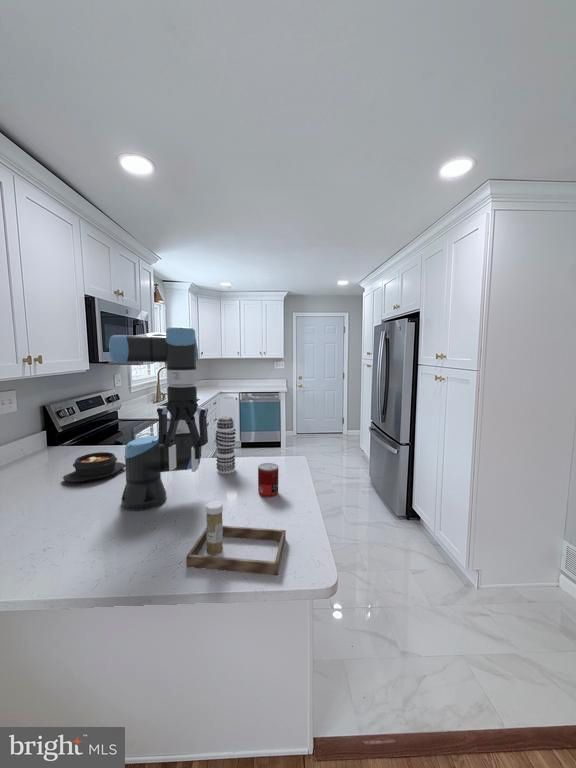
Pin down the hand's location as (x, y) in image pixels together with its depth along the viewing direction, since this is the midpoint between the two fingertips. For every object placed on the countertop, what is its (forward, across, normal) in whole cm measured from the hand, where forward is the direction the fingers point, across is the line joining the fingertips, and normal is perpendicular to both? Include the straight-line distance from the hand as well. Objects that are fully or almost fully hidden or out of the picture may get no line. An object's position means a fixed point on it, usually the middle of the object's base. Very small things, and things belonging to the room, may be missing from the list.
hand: (183, 469), depth 90 cm
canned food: (+23, +16, +39) cm, 48 cm away
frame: (+23, +16, 0) cm, 28 cm away
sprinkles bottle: (+23, +8, 0) cm, 25 cm away
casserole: (+23, -62, +47) cm, 82 cm away
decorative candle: (+23, -8, +61) cm, 66 cm away
